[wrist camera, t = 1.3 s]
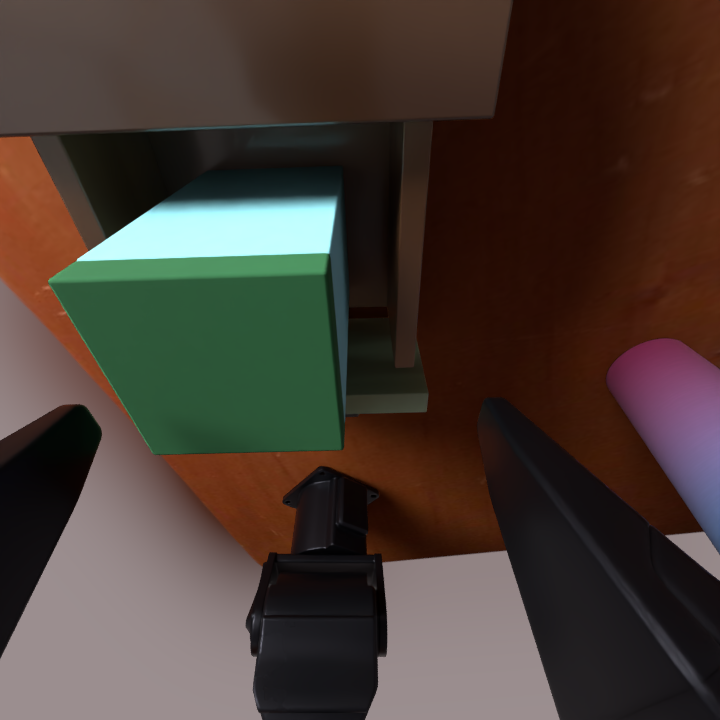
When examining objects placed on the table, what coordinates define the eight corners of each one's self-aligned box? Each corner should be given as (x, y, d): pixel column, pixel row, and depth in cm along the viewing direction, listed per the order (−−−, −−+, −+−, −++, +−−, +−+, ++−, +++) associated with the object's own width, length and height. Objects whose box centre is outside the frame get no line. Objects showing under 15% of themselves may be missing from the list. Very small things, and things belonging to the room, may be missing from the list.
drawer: (407, 385, 24) (420, 467, 19) (219, 390, 24) (184, 472, 19) (429, 57, 14) (469, 51, 9) (101, 70, 14) (-39, 72, 9)
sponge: (349, 289, 18) (344, 451, 11) (238, 292, 19) (152, 456, 11) (342, 165, 15) (327, 271, 7) (206, 170, 15) (43, 280, 7)
